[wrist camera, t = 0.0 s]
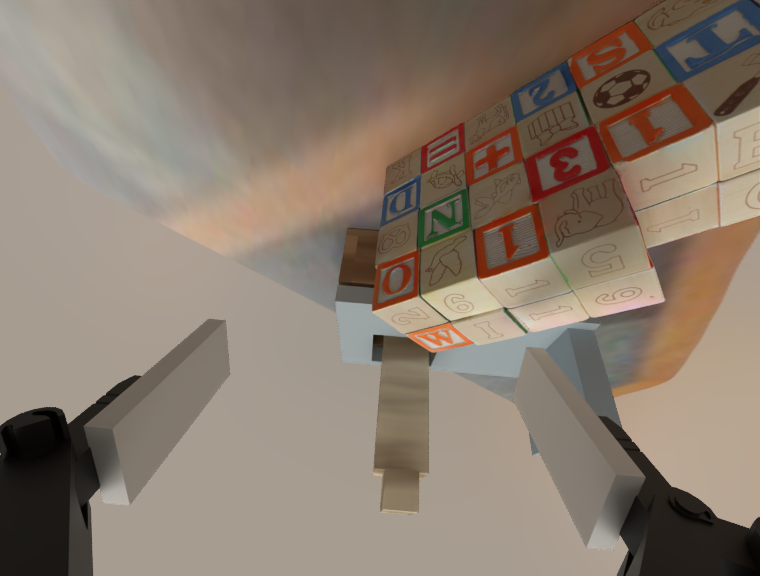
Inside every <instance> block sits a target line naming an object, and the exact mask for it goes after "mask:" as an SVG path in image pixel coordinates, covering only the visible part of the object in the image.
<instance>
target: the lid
mask: <svg viewBox="0 0 760 576" xmlns="http://www.w3.org/2000/svg"><path fill="white" fill-rule="evenodd" d="M373 293H374V288H368V287H357V286H345V285H338V287H337V293H336V299H335V304H336V313H337V321H338V329H339V337H340V345H341V353H342V362H345V363H357V364H368V365H380V366H381V364H382V352H383V348H374V347H373V338H374V335H386V336H397V337H407V336H406V333H405V334H402V333H400V332H399V331H398V330H396V329H395V328H394V327H392V326H391V325H390V324H388V323H387V322H385V321H384V320H382V319H381V318H379V317H378V316H377V315H375V314H374V313H373V312H372V301H373ZM599 325H601V323H600V319H599V317H596V318H594V317H590V318H588V319H587V320H584V321H580V322H576V323H571V324H567V325H563V326H560V327H554V328H550V329H546V330H542V331H538V332H527V334H526V335H524V336H520V337H516V338H511V339H507V340H502V341H498V342H493V343H489V344H484V345H476V344H475V343H474V344H471V345H467V346H462V347H458V348H453V349H448V350H444V351H439V352H435V353H432V352H429V370H437V371H448V372H459V373H471V374H482V375H494V376H505V377H516V378H519V374H520V370H521V366H522V362H523V358H524V354H525V350H526V347H535V348H544V349H545V350H546V352H547V353H548V354H549V355H550V357H551V358H552V359H553V360H554V362H555V363H556V364H557V366H558V367H559V368H560V369H561V371H562V372H563V373H564V374H565V376H566V377H567V378H568V379H569V381H570V382H571V383H572V385H573V386H574V387H575V388H576V390H577V391H578V392H579V393H580V395H581V396H582V397H583V398H584V400H585V401H586V402H587V404H588V405H589V406H590V407H591V409H592V410H593V411H594V412H595V414H596V415H597V416H606V417H608V418H609V419H611V420H612V421H613V422H615V423H616V424H617V425H619V426H620V427H621V428H622V425H621V422H620V419H619V415H618V412H617V408H616V405H615V401H614V398H613V395H612V391H611V388H610V384H609V381H608V377H607V374H606V371H605V367H604V364H603V360H602V357H601V353H600V350H599V347H598V343H597V340H596V336H595V333H594V330H595V329H596V328H597V327H598V326H599ZM529 436H530V442H531V449H532V455H535V456H541V455H540V453H539V451H538V449H537V447H536V445H535V443H534V441H533V439H532V437H531V435H530V433H529Z"/></svg>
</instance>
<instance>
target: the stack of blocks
mask: <svg viewBox="0 0 760 576" xmlns="http://www.w3.org/2000/svg"><path fill="white" fill-rule="evenodd" d="M757 216H760V0H665V1H664V2H662V3H660V4H659V5H657V6H655V7H654V8H652V9H650V10H649V11H647V12H645V13H644V14H642V15H641V16H639V17H638V18H637V19H635V20H634V21H633V22H630V23H627V24H626V25H624V26H622V27H620V28H619V29H617V30H615V31H614V32H612V33H610V34H608V35H607V36H605V37H603V38H602V39H600V40H598V41H597V42H595V43H593V44H592V45H590V46H588V47H586V48H585V49H583V50H582V51H580V52H578V53H577V54H575V55H573V56H571V57H570V58H569V59H568V60H567V61H566V62H565V63H562V64H561V65H559V66H557V67H555V68H554V69H552V70H551V71H549V72H547V73H546V74H544V75H542V76H541V77H539V78H537V79H536V80H534V81H532V82H531V83H529V84H527V85H526V86H524V87H522V88H521V89H519V90H517V91H515V92H514V93H513V94H512V95H511V96H508V97H506V98H505V99H503V100H501V101H500V102H498V103H496V104H495V105H493V106H491V107H490V108H488V109H486V110H485V111H483V112H481V113H480V114H478V115H476V116H475V117H473V118H471V119H470V120H468V121H467V122H465V123H461V124H459V125H458V126H456V127H454V128H453V129H451V130H449V131H448V132H446V133H444V134H443V135H441V136H439V137H438V138H436V139H434V140H433V141H431V142H429V143H428V144H426V145H424V146H422V147H421V148H419V149H417V150H415V151H413V152H412V153H410V154H408V155H407V156H405V157H403V158H402V159H400V160H398V161H397V162H395V163H393V164H392V165H390V166H388V167H387V169H386V179H385V187H384V201H383V210H382V218H381V225H380V230H379V235H378V241H377V251H376V261H375V268H376V269H377V270H376V277H375V285H374V293H373V301H372V312H373V313H374V314H375V315H377V316H378V317H379V318H381V319H382V320H384V321H385V322H387V323H388V324H390V325H391V326H392V327H394V328H395V329H396V330H398V331H399V332H400V333H402V334H405V333H406V336H407V337H409V338H410V339H411V340H413V341H414V342H416V343H417V344H419V345H421V346H422V347H424V348H425V349H427V350H428V351H430V352H432V353H435V352H439V351H444V350H448V349H453V348H458V347H462V346H467V345H471V344H474V343H475V344H476V345H484V344H489V343H493V342H498V341H502V340H507V339H511V338H516V337H520V336H524V335H526V334H527V332H538V331H542V330H546V329H550V328H554V327H560V326H563V325H567V324H571V323H576V322H580V321H584V320H587V319H588V318H590V317H594V318H596V317H600V316H605V315H609V314H613V313H618V312H622V311H626V310H631V309H635V308H639V307H644V306H648V305H653V304H657V303H661V302H664V301H665V298H664V295H663V292H662V289H661V286H660V283H659V279H658V276H657V273H656V270H655V267H654V264H653V262H652V260H651V258H650V256H649V253H648V251H647V248H651V247H654V246H657V245H661V244H664V243H668V242H671V241H674V240H677V239H680V238H684V237H687V236H690V235H694V234H697V233H700V232H704V231H707V230H710V229H713V228H716V227H718V226H721V227H722V226H727V225H730V224H733V223H737V222H740V221H743V220H747V219H750V218H753V217H757Z"/></svg>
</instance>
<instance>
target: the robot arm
mask: <svg viewBox="0 0 760 576" xmlns="http://www.w3.org/2000/svg"><path fill="white" fill-rule="evenodd" d="M229 375H230V367H229V354H228V341H227V331H226V321H225V320H215V319H208V320H207V321H205V322H204V323H203V324H202V325H201V326H200V327H199V328H197V329H196V330H195V331H194V332H193V333H191V334H190V335H189V336H188V337H187V338H186V339H184V340H183V341H182V342H181V343H180V344H179V345H177V346H176V347H175V348H174V349H173V350H172V351H171V352H170V353H168V354H167V355H166V356H165V357H164V358H162V359H161V360H160V361H159V362H158V363H157V364H156V365H154V366H153V367H152V368H151V369H150V370H148V371H147V372H146V373H145V374H144V375H143V376H136V375H135V376H132V377H130V378H128V379H126V380H124V381H122V382H120V383H118V384H117V385H116V386H115V387H113V388H112V389H111V390H110V391H108V392H107V393H106V395H104V396H102V397H101V398H100V399H99V400H97V401H96V403H95V404H93V405H91V406H90V407H89V408H88V409H86V410H85V411H84V412H83V413H81V414H80V415H79V416H78V417H76V418H75V419H74V420H73V421H72V422H70V423H69V424H68V425H67V422H66V418H65V414H64V412H63V411H62V410H61V409H59V408H56V407H44V408H38V409H33V410H30V411H27V412H24V413H21V414H19V415H17V416H15V417H13V418H11V419H9V420H7V421H6V422H5V423H3V424H2V425H1V426H0V453H1V455H0V576H93V562H92V561H93V559H92V529H91V507H90V504H89V499H90V498H91V497H92V496H93V495H94V493H95V492H96V491H97V490H98V489H99V488H100V491H101V495H102V499H103V503H109V504H120V505H130V504H131V503H132V502H133V501H134V499H135V498H136V497H137V495H138V494H139V493H140V491H141V490H142V489H143V487H144V486H145V485H146V484H147V482H148V481H149V480H150V478H151V477H152V476H153V474H154V473H155V472H156V470H157V469H158V468H159V467H160V465H161V464H162V463H163V461H164V460H165V459H166V457H167V456H168V455H169V453H170V452H171V451H172V449H173V448H174V447H175V446H176V444H177V443H178V442H179V440H180V439H181V438H182V436H183V435H184V434H185V433H186V431H187V430H188V429H189V427H190V426H191V425H192V423H193V422H194V421H195V419H196V418H197V417H198V416H199V414H200V413H201V411H202V410H203V409H204V408H205V406H206V405H207V404H208V402H209V401H210V400H211V398H212V397H213V396H214V395H215V393H216V392H217V391H218V389H219V388H220V387H221V385H222V384H223V383H224V381H225V380H226V379H227V378H228V376H229ZM513 400H514V402H515V404H516V406H517V408H518V410H519V412H520V414H521V416H522V419H523V421H524V423H525V424H526V427H527V429H528V431H529V433H530V435H531V437H532V439H533V441H534V443H535V445H536V447H537V449H538V451H539V453H540V455H541V457H542V459H543V461H544V463H545V465H546V467H547V469H548V471H549V473H550V475H551V477H552V479H553V481H554V483H555V485H556V487H557V489H558V491H559V493H560V495H561V497H562V499H563V502H564V503H565V506H566V508H567V510H568V512H569V514H570V516H571V518H572V520H573V522H574V524H575V525H576V528H577V530H578V532H579V534H580V536H581V538H582V540H583V542H584V544H585V546H586V548H594V549H605V550H614V548H615V545H616V543H617V541H618V539H619V536H620V535H621V537H622V539H623V540H624V542H625V544H626V545H627V547H628V549H629V550H628V552H627V554H626V556H625V559H624V561H623V563H622V565H621V567H620V569H619V572H618V574H617V576H760V517H758V518H757V519H756V520H755V521H754V523H753V524H752V526H751V528H750V529H749V528H746V527H743V526H740V525H737V524H734V523H731V522H728V521H725V520H722V519H719V518H717V517H716V515H715V514H714V513H713V512H712V510H711V509H710V508H709V507H708V506H707V505H705V504H704V503H703V502H702V501H701V500H699V499H698V498H696V497H694V496H693V495H691V494H690V493H688V492H685V491H683V490H680V489H678V488H675V487H671V485H669V483H668V482H667V481H666V480H665V478H664V477H663V476H662V475H661V474H660V472H659V471H658V470H657V469H656V468H655V467H654V465H653V464H652V463H651V462H650V461H649V460H648V458H647V457H646V456H645V455H644V454H643V452H640V449H639V448H638V447H637V445H636V444H635V443H634V442H632V440H631V438H630V437H629V436H628V435H627V434H626V432H625V431H624V430H623V429H622V428H621V427H620V426H619V425H617V424H616V423H615V422H613V421H612V420H611V419H609V418H608V417H606V416H597V415H596V414H595V412H594V411H593V410H592V409H591V407H590V406H589V405H588V404H587V402H586V401H585V400H584V398H583V397H582V396H581V395H580V393H579V392H578V391H577V390H576V388H575V387H574V386H573V385H572V383H571V382H570V381H569V379H568V378H567V377H566V376H565V374H564V373H563V372H562V371H561V369H560V368H559V367H558V366H557V364H556V363H555V362H554V360H553V359H552V358H551V357H550V355H549V354H548V353H547V352H546V350H545V349H544V348H535V347H526V350H525V354H524V358H523V362H522V366H521V370H520V374H519V378H518V382H517V386H516V390H515V394H514V398H513Z"/></svg>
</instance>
